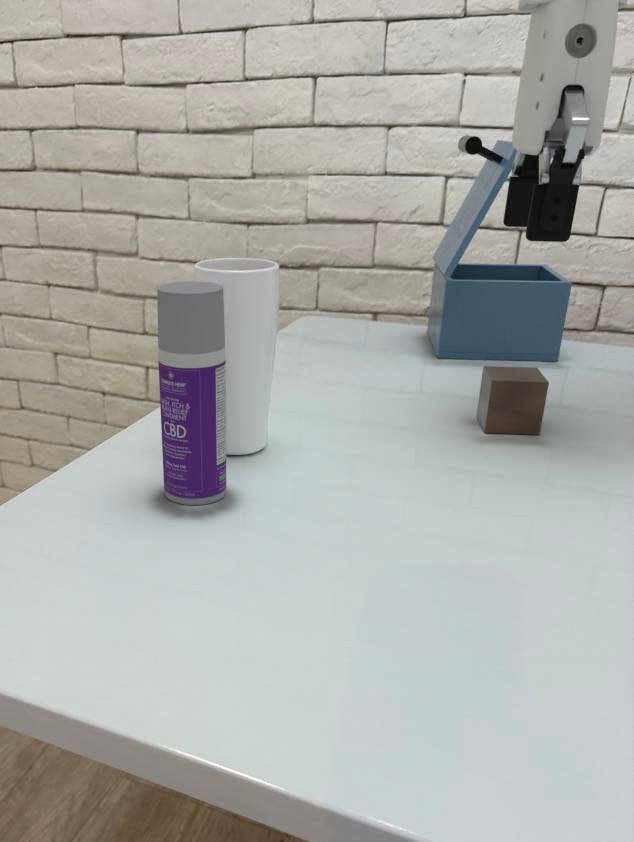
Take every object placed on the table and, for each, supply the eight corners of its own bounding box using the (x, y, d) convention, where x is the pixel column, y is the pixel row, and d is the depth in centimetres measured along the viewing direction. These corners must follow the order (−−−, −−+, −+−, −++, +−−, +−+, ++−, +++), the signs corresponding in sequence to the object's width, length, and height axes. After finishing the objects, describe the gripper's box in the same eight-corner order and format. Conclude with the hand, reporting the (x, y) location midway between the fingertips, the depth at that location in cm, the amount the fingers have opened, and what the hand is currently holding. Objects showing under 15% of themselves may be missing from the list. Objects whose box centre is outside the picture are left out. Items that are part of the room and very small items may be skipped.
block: (528, 417, 77) (537, 367, 74) (539, 435, 72) (549, 382, 70) (476, 416, 77) (483, 365, 75) (484, 433, 73) (491, 380, 71)
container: (157, 503, 60) (147, 292, 53) (172, 478, 64) (164, 280, 57) (220, 507, 59) (218, 294, 52) (231, 482, 63) (230, 281, 56)
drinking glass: (183, 454, 69) (178, 267, 62) (215, 428, 74) (213, 255, 67) (259, 465, 66) (262, 273, 59) (286, 438, 72) (292, 260, 65)
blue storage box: (534, 335, 105) (546, 264, 101) (557, 361, 94) (572, 282, 90) (427, 333, 107) (434, 263, 103) (437, 358, 96) (446, 280, 92)
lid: (503, 143, 96) (464, 122, 95) (525, 146, 85) (481, 122, 84) (437, 260, 102) (401, 241, 102) (449, 277, 91) (408, 257, 91)
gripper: (671, -37, 51) (611, 249, 59) (595, -1, 67) (556, 222, 75) (548, -36, 52) (505, 246, 60) (501, 0, 68) (471, 221, 75)
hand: (533, 233), depth 67 cm, fingers open, 9 cm apart
